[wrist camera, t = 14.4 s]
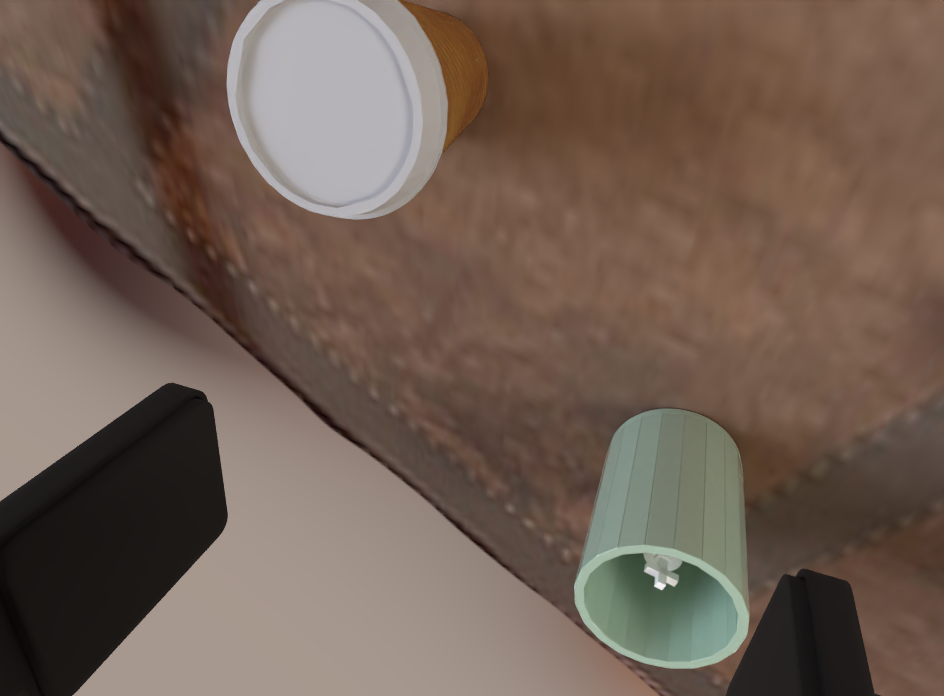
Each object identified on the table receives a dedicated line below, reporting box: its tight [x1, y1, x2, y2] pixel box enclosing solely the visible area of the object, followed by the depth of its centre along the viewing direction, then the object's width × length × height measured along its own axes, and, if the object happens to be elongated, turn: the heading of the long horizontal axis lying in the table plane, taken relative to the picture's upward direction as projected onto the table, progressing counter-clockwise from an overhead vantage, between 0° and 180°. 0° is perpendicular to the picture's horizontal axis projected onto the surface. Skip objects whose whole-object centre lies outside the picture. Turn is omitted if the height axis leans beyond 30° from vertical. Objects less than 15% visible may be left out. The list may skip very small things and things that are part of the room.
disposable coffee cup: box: [227, 0, 488, 219], centre depth 30 cm, size 10×10×12 cm
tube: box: [574, 408, 750, 668], centre depth 37 cm, size 8×8×12 cm
